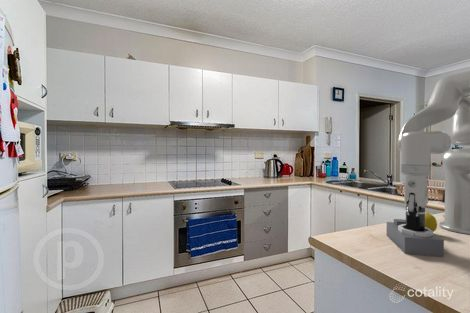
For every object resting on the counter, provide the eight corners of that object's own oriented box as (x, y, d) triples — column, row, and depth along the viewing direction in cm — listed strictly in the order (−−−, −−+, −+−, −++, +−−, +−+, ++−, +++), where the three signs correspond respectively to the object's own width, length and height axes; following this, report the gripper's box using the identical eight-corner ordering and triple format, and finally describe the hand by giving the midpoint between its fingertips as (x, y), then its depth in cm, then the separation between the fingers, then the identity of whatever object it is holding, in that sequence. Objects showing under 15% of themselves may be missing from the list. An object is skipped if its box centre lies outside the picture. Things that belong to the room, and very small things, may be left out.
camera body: (386, 235, 88) (386, 217, 88) (418, 237, 86) (418, 219, 86) (404, 253, 73) (404, 232, 73) (443, 256, 70) (444, 235, 70)
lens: (404, 228, 77) (404, 207, 77) (407, 225, 81) (407, 204, 81) (423, 232, 74) (423, 209, 74) (426, 228, 77) (426, 206, 77)
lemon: (414, 231, 93) (415, 210, 92) (431, 231, 91) (431, 211, 91) (423, 236, 87) (423, 214, 87) (440, 237, 86) (440, 215, 86)
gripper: (425, 173, 68) (425, 236, 69) (434, 169, 80) (433, 222, 81) (395, 171, 74) (394, 230, 74) (406, 168, 85) (406, 218, 86)
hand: (414, 225), depth 77 cm, fingers closed on lens, 5 cm apart
